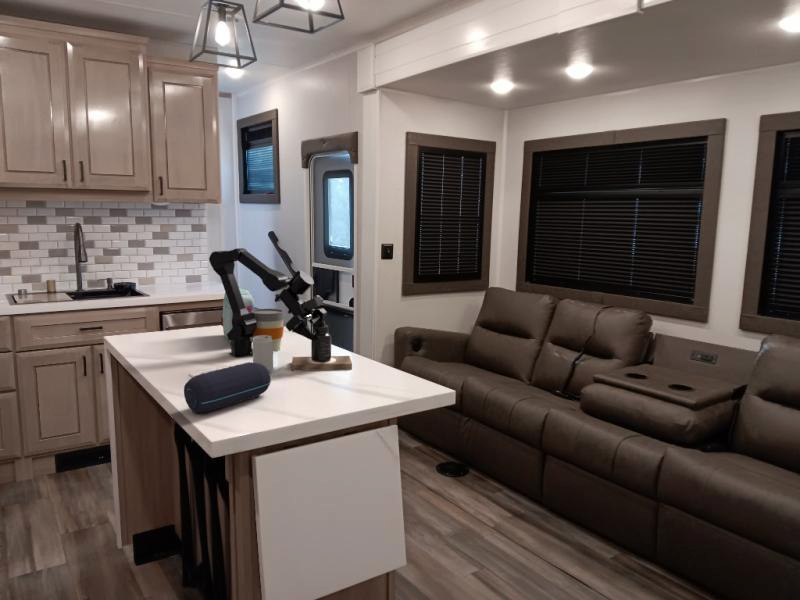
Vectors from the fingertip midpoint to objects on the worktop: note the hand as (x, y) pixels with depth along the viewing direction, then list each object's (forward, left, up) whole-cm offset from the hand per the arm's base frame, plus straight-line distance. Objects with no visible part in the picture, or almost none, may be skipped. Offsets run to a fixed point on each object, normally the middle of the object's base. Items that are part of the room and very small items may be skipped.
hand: (321, 337), depth 200 cm
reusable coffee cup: (-4, +32, -10) cm, 34 cm away
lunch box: (-6, +55, -10) cm, 56 cm away
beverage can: (-20, +4, -10) cm, 23 cm away
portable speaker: (-42, -19, -10) cm, 47 cm away
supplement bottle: (0, 0, -8) cm, 8 cm away
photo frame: (-33, +6, -11) cm, 35 cm away
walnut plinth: (0, 0, -10) cm, 10 cm away
